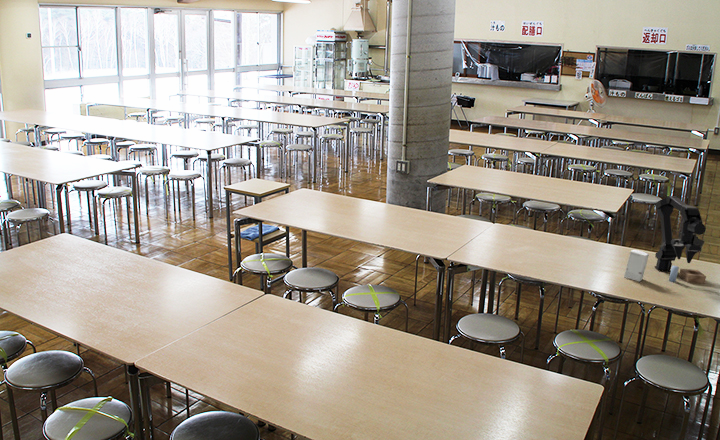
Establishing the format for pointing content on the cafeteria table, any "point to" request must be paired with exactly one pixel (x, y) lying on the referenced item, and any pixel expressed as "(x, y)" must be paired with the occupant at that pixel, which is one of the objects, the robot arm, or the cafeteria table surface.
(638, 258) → the skincare box
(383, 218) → the cafeteria table surface
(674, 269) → the peg
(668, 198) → the robot arm
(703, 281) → the socket block
